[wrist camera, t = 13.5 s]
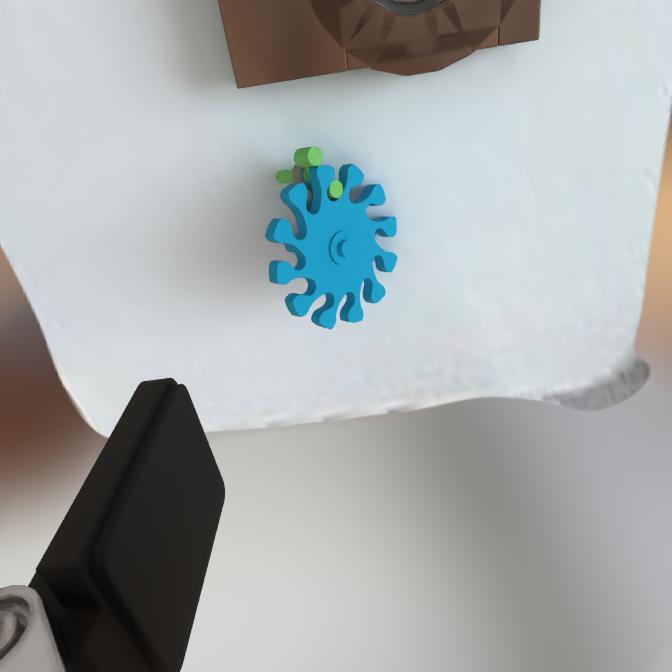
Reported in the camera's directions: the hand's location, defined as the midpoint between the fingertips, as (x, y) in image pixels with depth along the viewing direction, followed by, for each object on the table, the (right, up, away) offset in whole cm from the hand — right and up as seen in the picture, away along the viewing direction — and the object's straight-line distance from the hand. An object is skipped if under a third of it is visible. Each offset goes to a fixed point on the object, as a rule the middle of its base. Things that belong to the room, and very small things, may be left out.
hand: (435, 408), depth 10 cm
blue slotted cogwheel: (-2, +9, +26) cm, 28 cm away
